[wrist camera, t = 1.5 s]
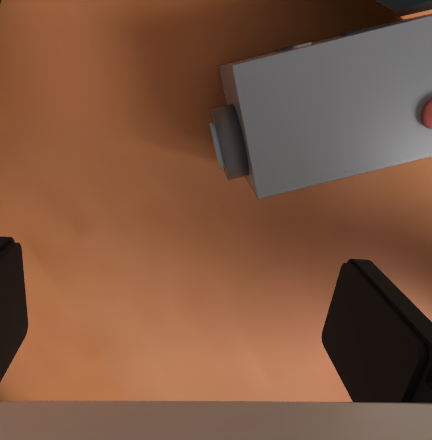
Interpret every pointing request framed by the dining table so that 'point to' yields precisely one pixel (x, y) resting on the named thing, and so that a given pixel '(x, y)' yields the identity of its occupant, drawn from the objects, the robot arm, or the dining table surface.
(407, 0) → the side door
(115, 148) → the dining table surface
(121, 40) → the dining table surface
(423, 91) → the camera body
